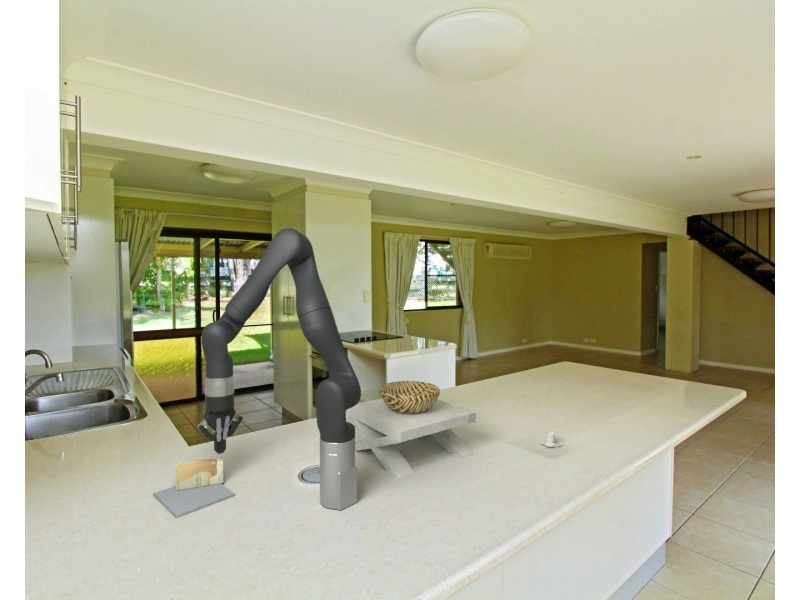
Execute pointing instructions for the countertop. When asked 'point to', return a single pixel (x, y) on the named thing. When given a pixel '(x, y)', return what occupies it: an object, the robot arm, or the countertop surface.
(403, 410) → the wicker basket on stand
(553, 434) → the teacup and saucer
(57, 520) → the countertop surface
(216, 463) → the skincare box
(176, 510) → the mat
